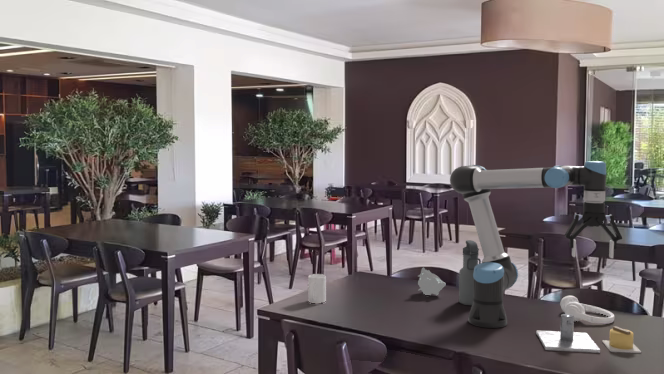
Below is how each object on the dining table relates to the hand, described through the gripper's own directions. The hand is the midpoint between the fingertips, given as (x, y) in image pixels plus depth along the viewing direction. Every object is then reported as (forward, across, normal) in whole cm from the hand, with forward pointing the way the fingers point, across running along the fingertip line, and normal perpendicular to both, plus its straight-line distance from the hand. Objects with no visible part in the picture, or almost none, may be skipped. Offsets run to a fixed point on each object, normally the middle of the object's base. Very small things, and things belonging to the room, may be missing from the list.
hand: (592, 257), depth 226 cm
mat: (+29, +6, -18) cm, 34 cm away
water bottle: (+29, -43, +32) cm, 61 cm away
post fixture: (+29, -12, -16) cm, 35 cm away
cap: (+28, +6, -18) cm, 34 cm away
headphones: (+29, +4, +17) cm, 34 cm away
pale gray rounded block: (+29, -112, +21) cm, 118 cm away
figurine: (+29, -60, +44) cm, 80 cm away
